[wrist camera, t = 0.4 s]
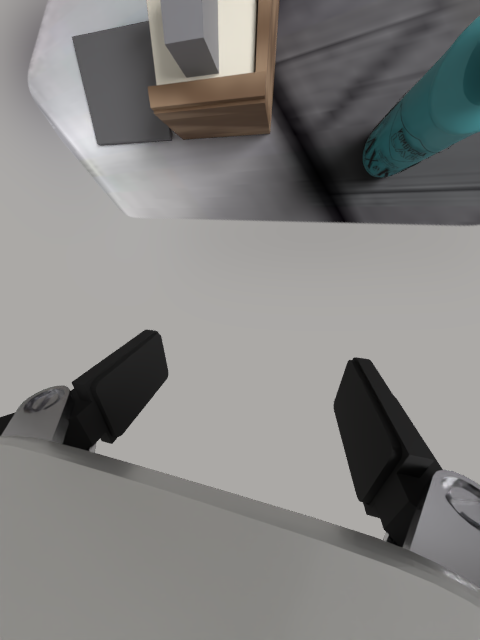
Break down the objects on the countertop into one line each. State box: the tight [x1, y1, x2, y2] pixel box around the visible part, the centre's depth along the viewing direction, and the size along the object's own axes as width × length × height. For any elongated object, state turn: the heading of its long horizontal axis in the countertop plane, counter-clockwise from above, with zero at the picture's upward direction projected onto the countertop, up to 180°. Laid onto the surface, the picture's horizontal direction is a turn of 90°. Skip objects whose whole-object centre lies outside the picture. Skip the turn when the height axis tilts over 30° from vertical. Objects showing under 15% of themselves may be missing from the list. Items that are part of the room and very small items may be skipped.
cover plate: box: [146, 0, 258, 85], centre depth 19 cm, size 9×12×6 cm
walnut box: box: [148, 0, 279, 140], centre depth 23 cm, size 12×14×8 cm
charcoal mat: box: [72, 21, 172, 145], centre depth 29 cm, size 12×14×1 cm
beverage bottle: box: [363, 16, 480, 178], centre depth 17 cm, size 6×7×20 cm
